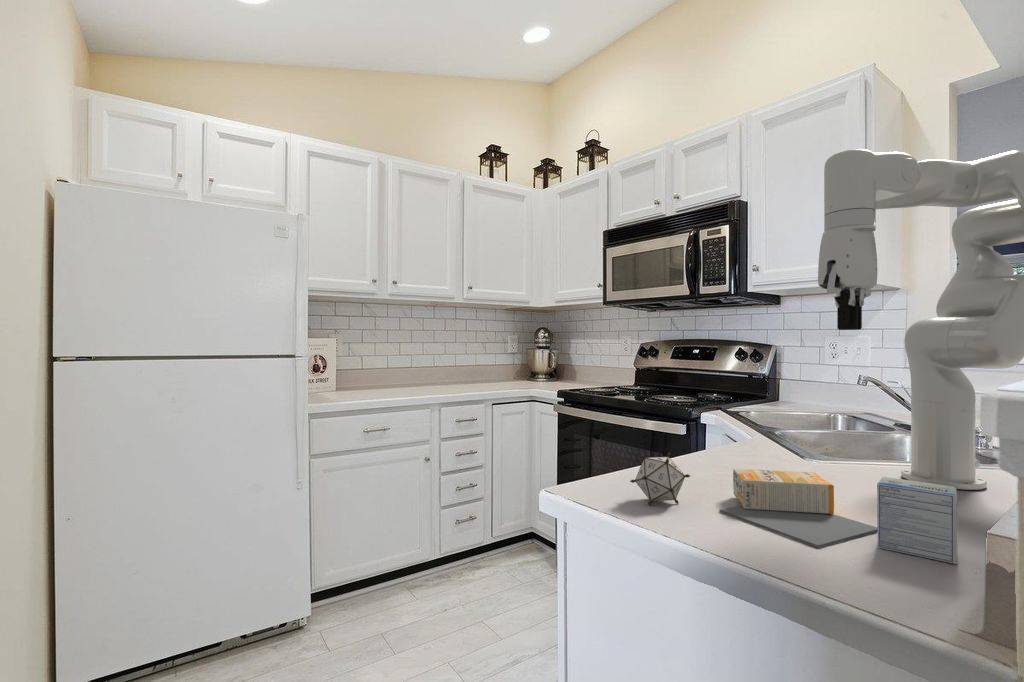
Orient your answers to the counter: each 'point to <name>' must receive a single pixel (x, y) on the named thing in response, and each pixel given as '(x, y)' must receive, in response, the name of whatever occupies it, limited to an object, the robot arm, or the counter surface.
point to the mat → (804, 525)
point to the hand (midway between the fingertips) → (849, 329)
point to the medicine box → (917, 518)
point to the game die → (659, 478)
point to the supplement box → (783, 491)
